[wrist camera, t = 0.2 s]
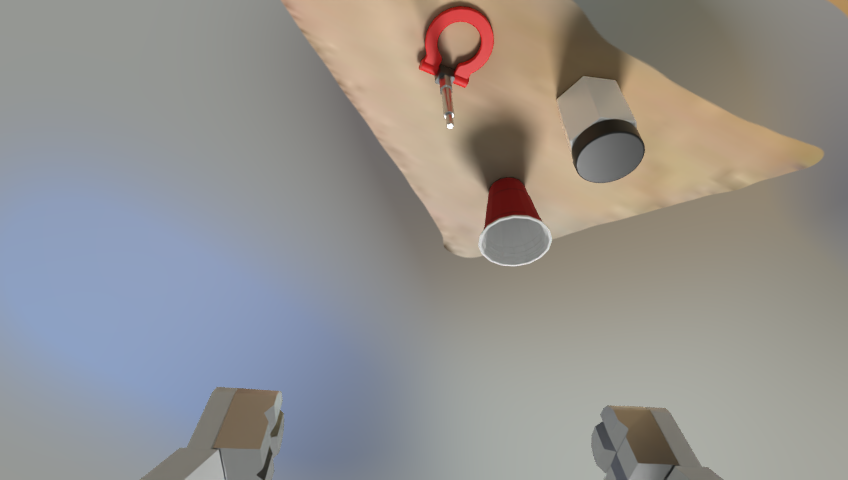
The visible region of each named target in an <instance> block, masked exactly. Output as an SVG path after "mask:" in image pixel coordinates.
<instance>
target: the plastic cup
mask: <svg viewBox="0 0 848 480" xmlns="http://www.w3.org/2000/svg"><path fill="white" fill-rule="evenodd" d="M551 242H552V237H551V233H550V230H549V228H548V227H547V226H546V225H545V224H544V223H543V222H542V220H541V218H540V217H539V215H538V213H537V211H536V209H535V207H534V204H533V202H532V200H531V198H530V196H529V195H528V193H527V191H526V188H525V186H524V185H523V183H522V182H521V181H519V180H518V179H515V178H507V177H506V178H502V179H499V180H497V181H496V182H494V183H493V184H492V186H491V187H490V190H489V195H488V204H487V211H486V220H485V227H484V230H483V232H482V233H481V235H480V239H479V245H478V246H479V248H480V251H481V253H482V255H483V256H484V257H486V258H487V259H488V260H489V261H491V262H493V263H496V264H499V265H502V266H519V265H525V264H529V263H531V262H533V261H535V260H537V259H539V258H541V257H542V256H543V255H544V254H545V253H546V252H547V251H548V250H549V247H550V244H551Z"/></svg>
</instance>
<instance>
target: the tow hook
mask: <svg viewBox="0 0 848 480" xmlns="http://www.w3.org/2000/svg"><path fill="white" fill-rule="evenodd" d="M460 21H461V22H467V23H470V24H472V25H473V26H474V27H476V28H477V30H478V31H479V33H480V36H481V44H480V48H479V50H478V52H477V53H476V55H475V56H474V57H473V58H471V59H470V60H468V61H466V62H463V63H459V64H458V65H457V67H456V69H455V71H454V70H452V69H450V68H447V67H445V66H443V65H440V63H441V61H442V56H441V54H440V52H439V50H438V47H437V43H438V38H439V35H440V33H441V32H442V31H443V29H444V28H446V27H447V26H448V25H450V24H452V23H454V22H460ZM493 44H494V38H493V31H492V28H491V25H490V23H489V22H488V20H487V19H486V17H485V16H484V15H483V14H481V13H480V12H479V11H477V10H475V9H472V8H470V7H462V6H459V7H453V8H449V9H447V10H445V11H443V12H441V13H440V14H439V15H438V16H437V17H435V18H434V20H433V21H432V23H431V24H430V25H429V28H428V30H427V33H426V38H425V48H426V56H425V58H424V59H422V60H421V63H420V66H419V69H420V70H422V71H425V72H427V73H430V74H432V75H435V83H437V84H440V92H441V95H442V101H443V112H444V118H445V119H446V123H447V128H448V129H452V128H453V127H454V124H453V118H454V110H453V102H452V94H451V93H452V83H454V84H457V85H459V86H462V87H464V88H465V87H466V86H467V84H468V82H469V76H470V74H471V73H473V72H475V71H477V70H478V69H479V68H481V67H482V66H483V65H484V64H485V62H486V61H487V60H488V58H489V56H490V54H491V52H492V49H493Z"/></svg>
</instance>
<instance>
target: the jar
mask: <svg viewBox="0 0 848 480" xmlns="http://www.w3.org/2000/svg"><path fill="white" fill-rule="evenodd" d="M557 106H558V110H559V115H560V120H561V125H562V128H563V131H564V134H565V137H566V140H567V143H568V147H569V150H570V153H571V156H572V159H573V163H574V166H575V168H576V170H577V172H578V174H579V175H580V176H581V177H582V178H583V179H585V180H587V181H590V182H595V183H606V182H612V181H615V180H618V179H620V178H622V177H624V176H626V175H628V174H629V173H631V172H632V171H633V170H634V169H635V168H636V167H637V166H638V165H639V164H640V162H641V160H642V158H643V156H644V152H645V147H644V143H643V141H642V139H641V137H640V135H639V133H638V130H637V124H636V120H635V118H634V116H633V114H632V112H631V110H630V108H629V106H628V104H627V102H626V100H625V98H624V96H623V94H622V92H621V90H620V88H619V86H618V84H617V82H616V80H610V79H603V78H595V77H588V76H583V77H582V78H580V79H579V80H578V81H577V82H576V83H575V84H574V85H572V86H571V87H570V88H569V89H568V90H567V91H566V92H564V93H563V94H562V95H561V96H560V97H559V98H558V99H557Z"/></svg>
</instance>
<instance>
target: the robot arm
mask: <svg viewBox="0 0 848 480" xmlns="http://www.w3.org/2000/svg"><path fill="white" fill-rule="evenodd" d="M281 393H282V392H281V391H270V390H256V389H243V388H225V387H217V388H216V389H215V390H214V391H213V392H212V394H211V396H210V398H209V400H208V402H207V405H206V407H205V409H204V412H203V413H202V416H201V418H200V420H199V422H198V424H197V427H196V429H195V431H194V433H193V435H192V437H191V439H190V442H189V444H188V446H187V448H179V449H178V450H177V451H175V452H174V453H173V454H172V455H170V456H169V457H168V458H167V459H165V460H164V461H163V462H161V463H160V464H159V465H158V466H156V467H155V468H154V469H153V470H152V471H150V472H149V473H148V474H146V475H145V476H144V477H143V478H141V479H140V480H272V477H273V473H274V464H273V458H274V457H275V456H276V455H277V454H278V453H279V451H280V447H281V442H282V436H283V430H284V413H283V412H282V411H281V410H280V408H281V405H282V401H283V400H282V394H281ZM601 417H602V420H603V422H601V423H600V424H598V425H597V426H595V428H594V431H593V433H592V451H593V456H594V459H595V462H596V464H597V465H598V466H599V467H600V468H601V469H602V470H603V471H604V472H605V473H606V474H605V477H604V480H723V479H722V478H721V477H719V476H718V475H717V474H716V473H714V472H713V471H712V470H711V469H709V468H708V467H702V466H701V464H700V463H699V461H698V459H697V458H696V456H695V454H694V452H693V451H692V449H691V447H690V446H689V444H688V442H687V441H686V439H685V437H684V435H683V434H682V432H681V430H680V429H679V427H678V425H677V423H676V422H675V420H674V418H673V417H672V415H671V413H670V412H669V411H668V410H667V409H666V408H650V407H635V406H606V407H605V408H603V411H602V413H601Z"/></svg>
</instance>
